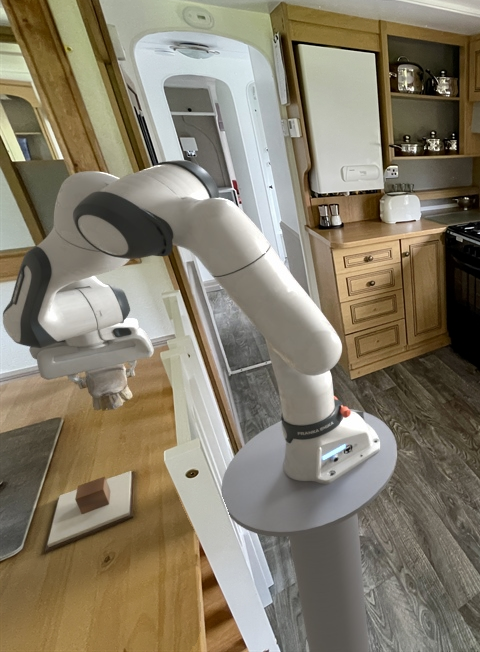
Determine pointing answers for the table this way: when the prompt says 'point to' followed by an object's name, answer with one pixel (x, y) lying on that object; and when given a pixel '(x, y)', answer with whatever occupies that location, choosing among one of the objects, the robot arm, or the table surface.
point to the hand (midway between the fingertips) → (109, 381)
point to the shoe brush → (108, 387)
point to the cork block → (93, 495)
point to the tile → (91, 513)
